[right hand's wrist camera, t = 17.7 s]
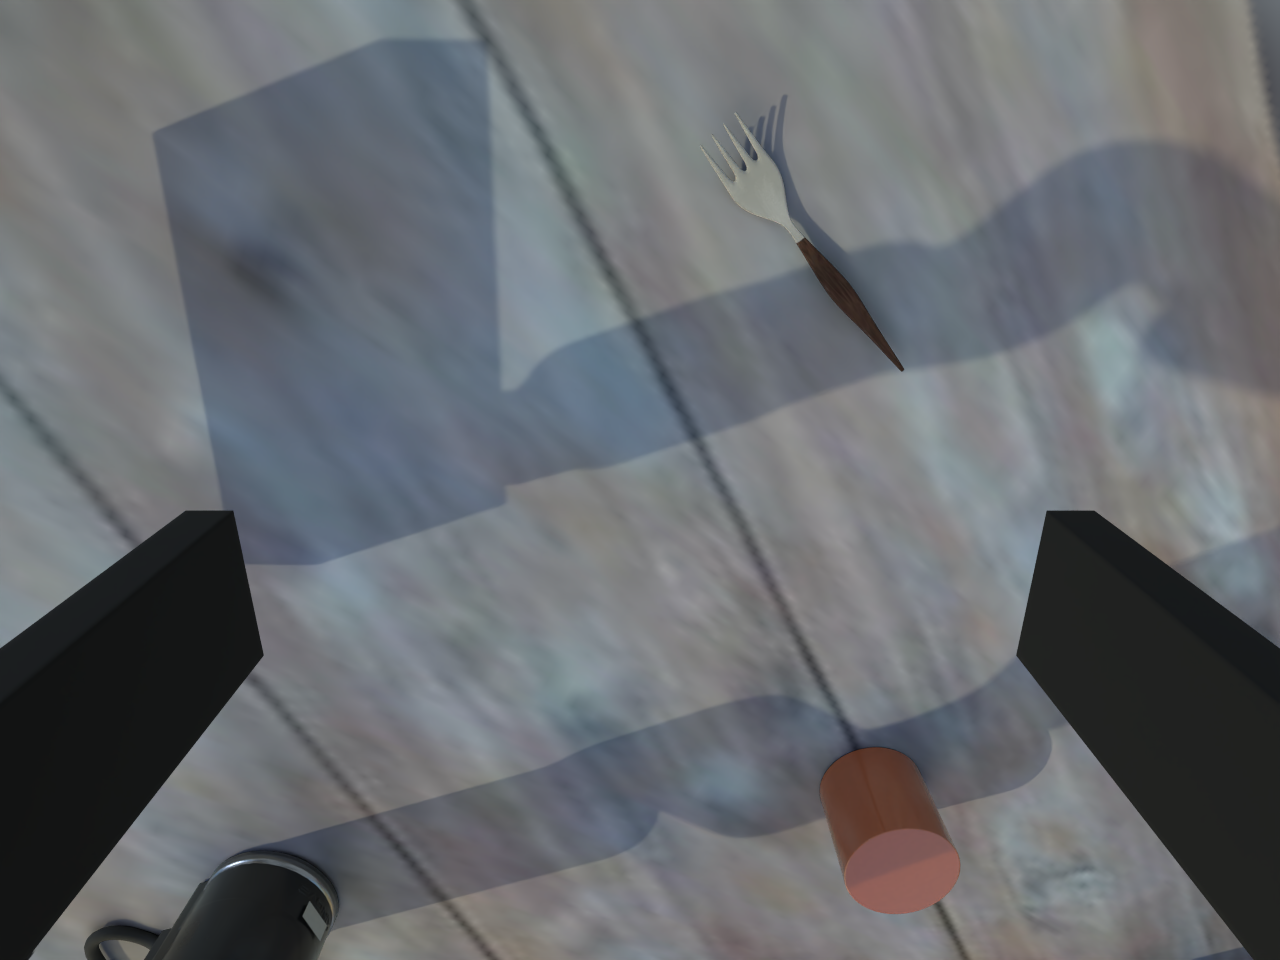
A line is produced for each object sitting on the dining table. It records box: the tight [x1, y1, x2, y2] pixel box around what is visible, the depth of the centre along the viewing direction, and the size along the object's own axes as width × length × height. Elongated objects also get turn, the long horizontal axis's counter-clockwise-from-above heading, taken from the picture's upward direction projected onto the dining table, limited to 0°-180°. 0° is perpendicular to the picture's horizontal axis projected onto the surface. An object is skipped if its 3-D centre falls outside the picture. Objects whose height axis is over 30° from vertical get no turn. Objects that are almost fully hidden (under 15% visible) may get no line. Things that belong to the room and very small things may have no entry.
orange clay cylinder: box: [820, 747, 960, 914], centre depth 50 cm, size 7×7×7 cm
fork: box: [700, 112, 904, 371], centre depth 39 cm, size 3×16×2 cm, turn 42°
